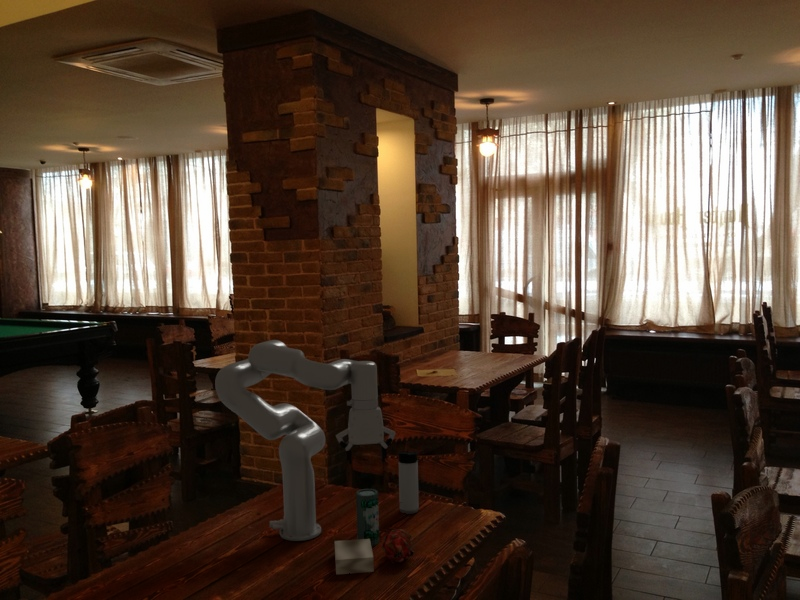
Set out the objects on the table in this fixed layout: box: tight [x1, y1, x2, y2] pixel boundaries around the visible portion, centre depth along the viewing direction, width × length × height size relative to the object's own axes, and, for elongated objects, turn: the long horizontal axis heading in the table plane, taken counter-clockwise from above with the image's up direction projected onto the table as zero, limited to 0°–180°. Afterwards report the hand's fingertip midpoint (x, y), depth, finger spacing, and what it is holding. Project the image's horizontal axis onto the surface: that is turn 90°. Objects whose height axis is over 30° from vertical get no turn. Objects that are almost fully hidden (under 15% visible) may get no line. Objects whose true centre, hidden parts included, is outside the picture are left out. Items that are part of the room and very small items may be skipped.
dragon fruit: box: [381, 528, 415, 565], centre depth 193 cm, size 8×8×12 cm
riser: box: [334, 539, 375, 576], centre depth 192 cm, size 10×12×4 cm
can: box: [355, 488, 380, 547], centre depth 205 cm, size 6×6×15 cm
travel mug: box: [398, 450, 420, 515], centre depth 228 cm, size 6×7×20 cm
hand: (366, 461), depth 203 cm, fingers open, 9 cm apart
